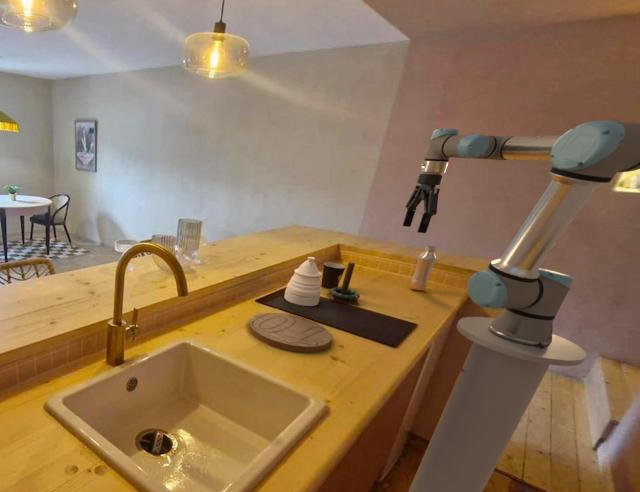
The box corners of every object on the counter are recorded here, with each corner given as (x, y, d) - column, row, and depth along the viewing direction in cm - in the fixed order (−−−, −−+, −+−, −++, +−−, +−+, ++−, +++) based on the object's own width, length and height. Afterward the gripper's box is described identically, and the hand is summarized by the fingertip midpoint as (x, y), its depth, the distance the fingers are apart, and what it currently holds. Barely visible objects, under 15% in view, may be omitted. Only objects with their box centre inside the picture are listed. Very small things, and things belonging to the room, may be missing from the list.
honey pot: (319, 308, 149) (331, 263, 142) (284, 302, 153) (293, 258, 146) (317, 297, 160) (327, 254, 154) (284, 292, 164) (293, 250, 158)
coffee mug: (327, 290, 169) (332, 268, 166) (314, 283, 177) (319, 262, 173) (350, 289, 172) (356, 268, 168) (336, 283, 179) (342, 262, 176)
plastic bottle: (426, 290, 177) (441, 246, 169) (423, 293, 172) (439, 249, 164) (409, 286, 181) (423, 244, 173) (406, 289, 176) (421, 246, 168)
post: (357, 304, 155) (367, 267, 149) (332, 301, 157) (342, 264, 151) (350, 296, 163) (360, 261, 157) (327, 294, 165) (336, 258, 159)
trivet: (341, 336, 127) (343, 330, 126) (310, 361, 111) (312, 355, 110) (270, 311, 143) (271, 307, 143) (234, 330, 127) (234, 325, 126)
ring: (362, 302, 153) (363, 297, 152) (332, 298, 155) (333, 294, 154) (354, 293, 163) (355, 288, 162) (326, 289, 165) (327, 285, 164)
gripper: (406, 171, 159) (391, 223, 168) (437, 174, 137) (417, 234, 145) (427, 172, 158) (410, 224, 166) (461, 176, 135) (440, 236, 143)
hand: (413, 229), depth 156 cm, fingers open, 13 cm apart
